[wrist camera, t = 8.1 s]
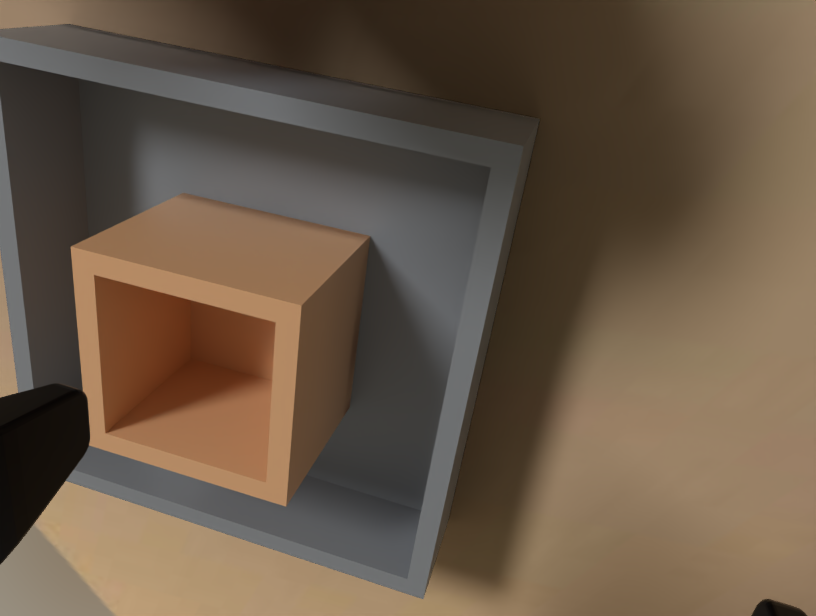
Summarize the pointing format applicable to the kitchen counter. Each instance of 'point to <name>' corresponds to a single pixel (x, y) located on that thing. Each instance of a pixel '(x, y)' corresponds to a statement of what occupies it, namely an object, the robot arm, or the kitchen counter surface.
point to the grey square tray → (292, 197)
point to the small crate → (219, 340)
